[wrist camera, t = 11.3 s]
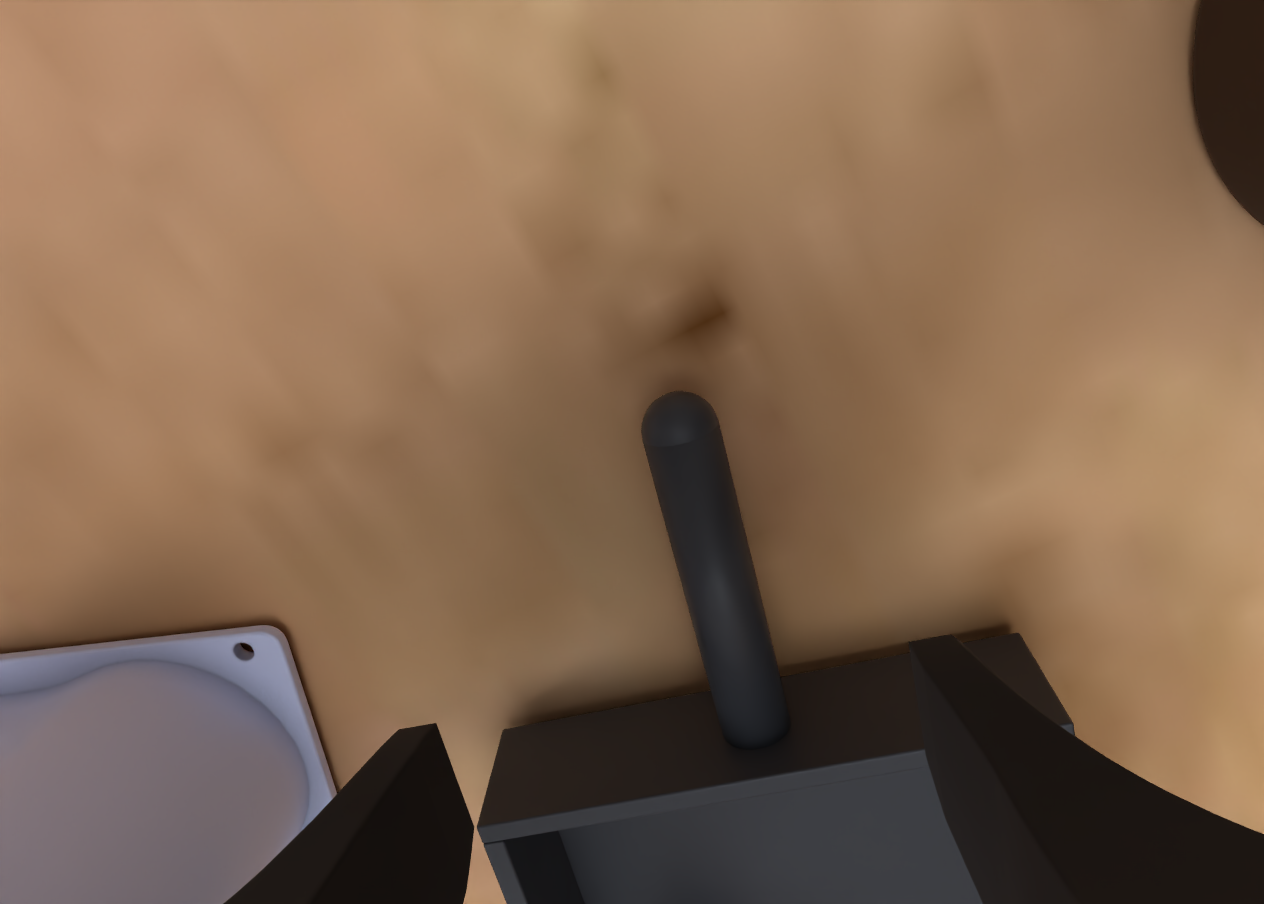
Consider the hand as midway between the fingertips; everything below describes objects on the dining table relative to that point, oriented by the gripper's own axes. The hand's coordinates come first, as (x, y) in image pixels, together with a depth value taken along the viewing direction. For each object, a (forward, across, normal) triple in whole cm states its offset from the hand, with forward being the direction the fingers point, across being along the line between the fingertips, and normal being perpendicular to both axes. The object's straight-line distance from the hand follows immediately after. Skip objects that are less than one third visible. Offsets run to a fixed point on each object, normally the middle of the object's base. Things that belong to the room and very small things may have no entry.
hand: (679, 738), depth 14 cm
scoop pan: (+9, -1, +6) cm, 11 cm away
